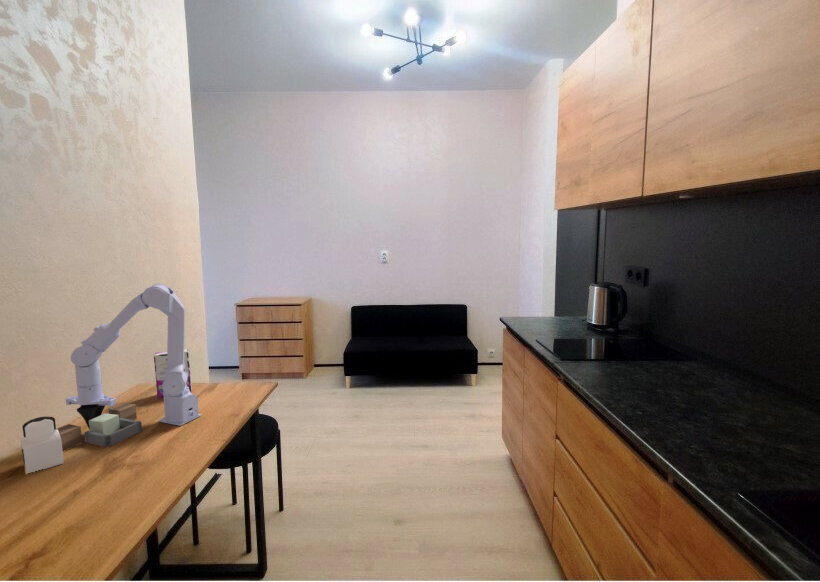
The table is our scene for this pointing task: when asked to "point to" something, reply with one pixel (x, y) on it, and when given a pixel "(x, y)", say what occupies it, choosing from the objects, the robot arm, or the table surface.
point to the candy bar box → (161, 368)
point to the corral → (114, 433)
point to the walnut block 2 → (124, 411)
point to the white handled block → (41, 444)
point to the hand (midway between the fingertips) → (93, 427)
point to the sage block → (105, 424)
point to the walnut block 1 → (70, 436)
